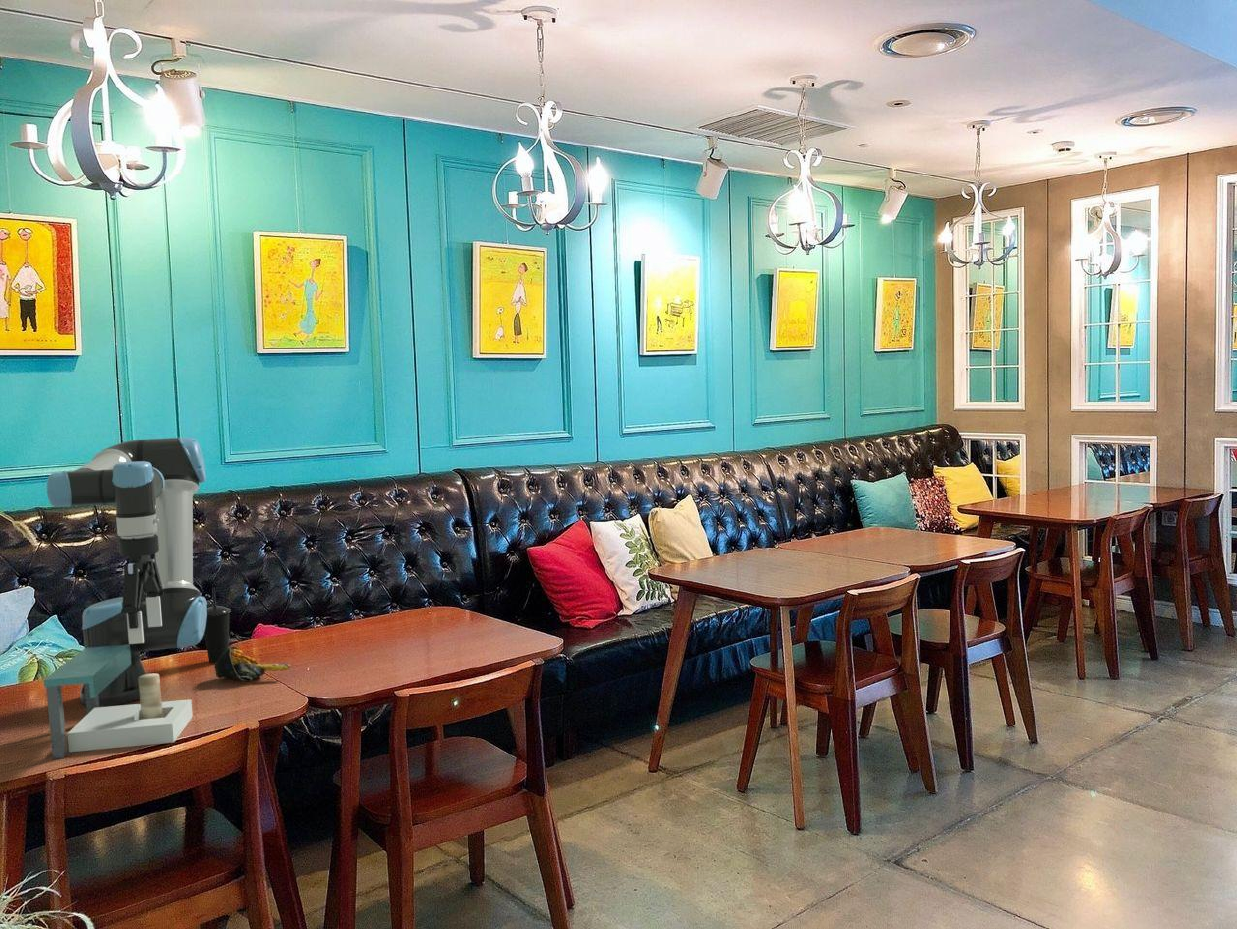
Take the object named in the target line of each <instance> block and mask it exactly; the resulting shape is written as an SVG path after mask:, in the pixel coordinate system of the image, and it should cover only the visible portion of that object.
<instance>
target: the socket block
mask: <svg viewBox="0 0 1237 929" xmlns="http://www.w3.org/2000/svg"><path fill="white" fill-rule="evenodd" d="M161 702H162V713H163V718H155V719H144V720H142V713H141V703H135V704H122V705H121V704H120V705H110V706H99V707H98V708H94V709H93V710H92V711H91V712H89V713H88V714H87V713H86V715H85V716H84V717H83V718H82V719H81V720H80V721H79V722H77V723H76V724H75V726H74V727H72V729H70V731H68V732H67V733H66V734H67V742H68V743H67V744H68V752H69V753H76V752H77V753H78V752H87V751H97V750H98V751H99V750H107V749H119V748H129V747H139V746H140V747H141V746H150V745H160V744H162V745H163V744H172V743H173V744H174V743H175V742H176V741H177V739H178V738H179V736H180V735H181V733H182V732H183V730H184V729H185V728H186V727H187V725H188V724H189V722H191V720H192V718H193V716H194V715H193V702H192V699H189V698H188V699H179V700H168V701H161Z"/></svg>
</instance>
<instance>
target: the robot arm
mask: <svg viewBox="0 0 1237 929" xmlns="http://www.w3.org/2000/svg"><path fill="white" fill-rule="evenodd" d="M203 456H204V455H203V452H202V449H201V445H200V443H199V441H198V439H196V438H193V437H172V438H153V439H151V438H150V439H135V440H133V439H132V440H128V441H123V442H119V443H116V444H113V445H111V446H109V447H106V448H104V449H101V450H100V451H98V452H96V454H95V455H94V456H93V457H92V458H91V460H90V461H89V462H87V463H86V464H84V465H83V466H81V467H79V468H77V469H75V470H72V471H71V470H70V471H65V470H63V471H59V472H52V473H50V475H48V478H47V480H46V494H47V498H48V501H49V503H50V505H51V506H53V507H55V508H58V507H59V508H61V507H62V508H63V507H64V508H65V507H66V508H71V507H81V506H94V505H96V506H98V505H115V513H116V514H115V515H116V518H115V520H116V531H117V532H116V533H117V536H119V539H118V540H117V541H118V552H119V555H120V556H121V557H124V558H126V557H127V558H129V563H125V564H123V571H124V573H123V576H124V578H123V591H122V596H120V597H115V598H110V599H106V600H102V601H99V602H96V603H94V604H91V605H90V606H88V607H86V608H85V609H84V610H83V613H82V627H81V630H82V634H83V635H82V636H83V644H84V649H85V648H90V647H103V646H116V645H128V644H130V654H131V665H130V666H129V667H128V668H127V669H125V670H124V671H123V672H122V673H121V674H120V675H119V676H118V677H117V678H116V679H115V680H113V681H112V682H111V683H110V684H109V685H108V686H107V687H106V688H105V689H104V690H103V691H101V692H100V693H99V694H98V697H99V707H109V706H118V705H121V704H122V705H124V704H125V703H131V702H134V701H137V700H140V691H139V680H138V677H140V676H142V675H145V674H148V673H147V670H146V669H145V666H144V665H143V662H142V656H141V652H145V651H146V652H147V651H155V650H156V651H157V650H167V649H175V648H176V649H177V648H178V649H182V648H185V647H191V646H196V645H198V644H199V643H200V642H201V641H202V639H203V637H204V631H205V625H206V617H207V611H206V610H207V607H208V602H207V600H206V598H205V597H204V596H200V593H201V591H200V589H198V588H197V587H196V586H195V585H194V541H193V540H194V535H193V534H194V531H193V530H194V529H193V528H194V525H193V524H194V523H193V522H194V520H193V519H194V516H193V515H194V513H193V512H194V511H193V510H194V507H193V506H194V503H193V499H194V498H193V496H194V495H195V494H196V493H198V491H199V490H200V484H201V483H205V482H206V480H207V478H206V474H207V473H206V468H205V461H204V457H203ZM143 590H145V592H146V595H147V596H146V597H145V601H143V602H142V598H143V597H142V596H143ZM81 685H82V686H81V687H80V688H81V689H80V692H79V694H80V696H79V697H80V703H81V704H82V705H83V706H86V700H85V688H84V684H81Z"/></svg>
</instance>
